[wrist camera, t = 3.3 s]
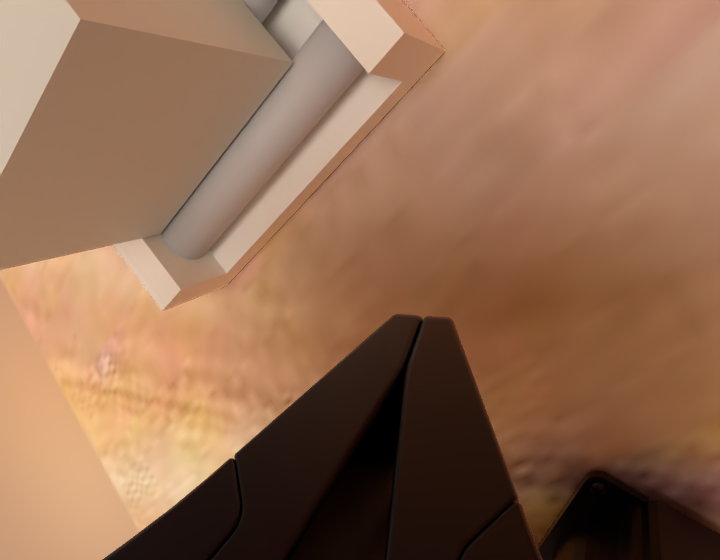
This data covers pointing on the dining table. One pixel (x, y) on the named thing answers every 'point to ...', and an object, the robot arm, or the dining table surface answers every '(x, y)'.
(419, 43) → the roller bed
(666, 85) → the dining table surface
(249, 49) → the beige block
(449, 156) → the dining table surface
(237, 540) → the robot arm
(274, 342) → the dining table surface
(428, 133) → the dining table surface
